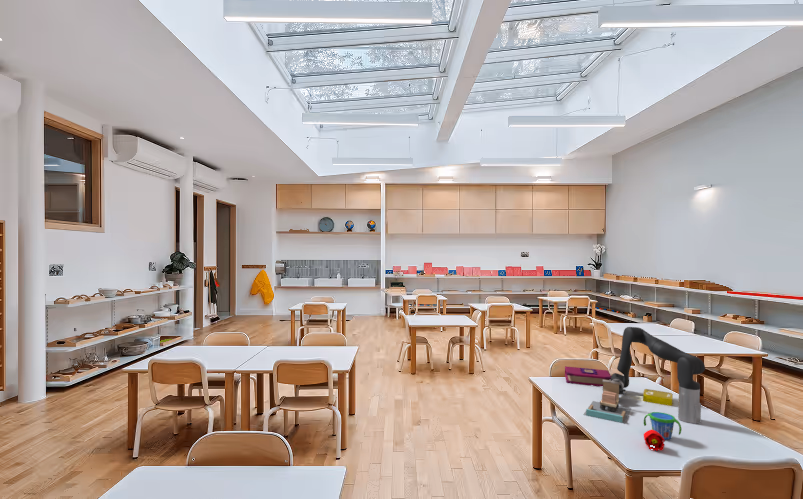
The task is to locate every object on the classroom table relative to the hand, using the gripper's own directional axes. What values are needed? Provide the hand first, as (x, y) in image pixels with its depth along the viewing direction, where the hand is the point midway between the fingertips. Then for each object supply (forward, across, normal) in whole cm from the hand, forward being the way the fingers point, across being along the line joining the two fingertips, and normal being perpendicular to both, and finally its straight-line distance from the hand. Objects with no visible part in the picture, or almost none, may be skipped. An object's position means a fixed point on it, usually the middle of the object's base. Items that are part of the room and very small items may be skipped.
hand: (611, 393), depth 254 cm
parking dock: (+13, 0, +7) cm, 15 cm away
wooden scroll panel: (+7, 0, +6) cm, 10 cm away
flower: (+49, +24, +7) cm, 55 cm away
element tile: (-29, +21, +8) cm, 37 cm away
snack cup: (+33, +27, +7) cm, 43 cm away
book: (-45, -21, +8) cm, 51 cm away
